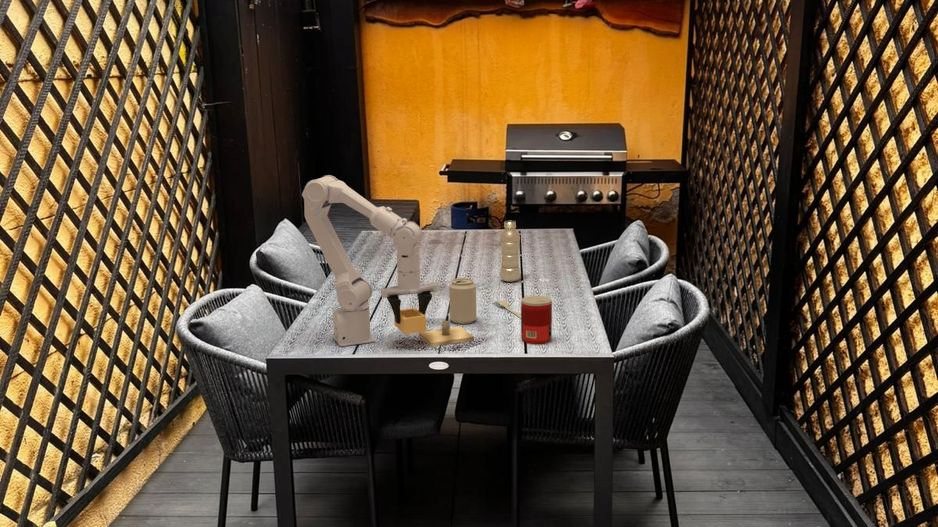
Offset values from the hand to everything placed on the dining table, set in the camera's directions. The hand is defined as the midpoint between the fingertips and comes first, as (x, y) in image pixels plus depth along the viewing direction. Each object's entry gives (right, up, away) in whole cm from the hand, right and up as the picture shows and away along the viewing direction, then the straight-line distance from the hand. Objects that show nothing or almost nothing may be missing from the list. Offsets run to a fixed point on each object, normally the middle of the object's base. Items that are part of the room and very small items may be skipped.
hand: (409, 321), depth 228 cm
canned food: (+33, -5, +3) cm, 34 cm away
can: (+14, -1, +21) cm, 25 cm away
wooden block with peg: (+9, -5, +6) cm, 12 cm away
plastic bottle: (+29, +9, +63) cm, 70 cm away
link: (0, -2, 0) cm, 2 cm away
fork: (+27, 0, +29) cm, 40 cm away
